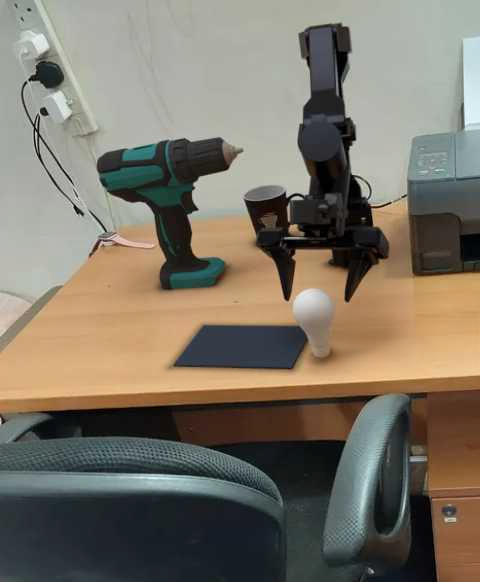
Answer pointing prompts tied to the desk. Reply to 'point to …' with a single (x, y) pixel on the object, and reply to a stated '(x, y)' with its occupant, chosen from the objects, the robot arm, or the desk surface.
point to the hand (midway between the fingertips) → (316, 301)
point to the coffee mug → (268, 206)
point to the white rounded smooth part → (315, 318)
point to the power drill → (170, 198)
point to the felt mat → (244, 347)
